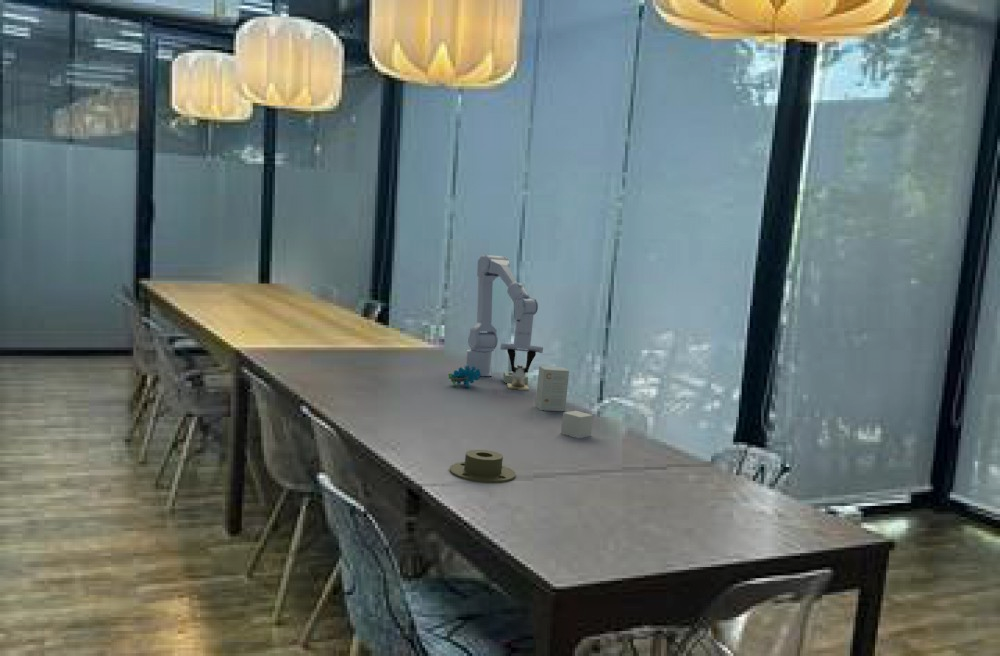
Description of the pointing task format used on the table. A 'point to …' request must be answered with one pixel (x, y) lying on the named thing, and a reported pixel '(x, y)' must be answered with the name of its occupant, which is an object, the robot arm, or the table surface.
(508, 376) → the housing
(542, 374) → the small box
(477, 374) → the toy stegosaurus
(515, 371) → the grey cylinder
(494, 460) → the flange
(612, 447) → the table surface
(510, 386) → the coaster
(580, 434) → the light grey cube
